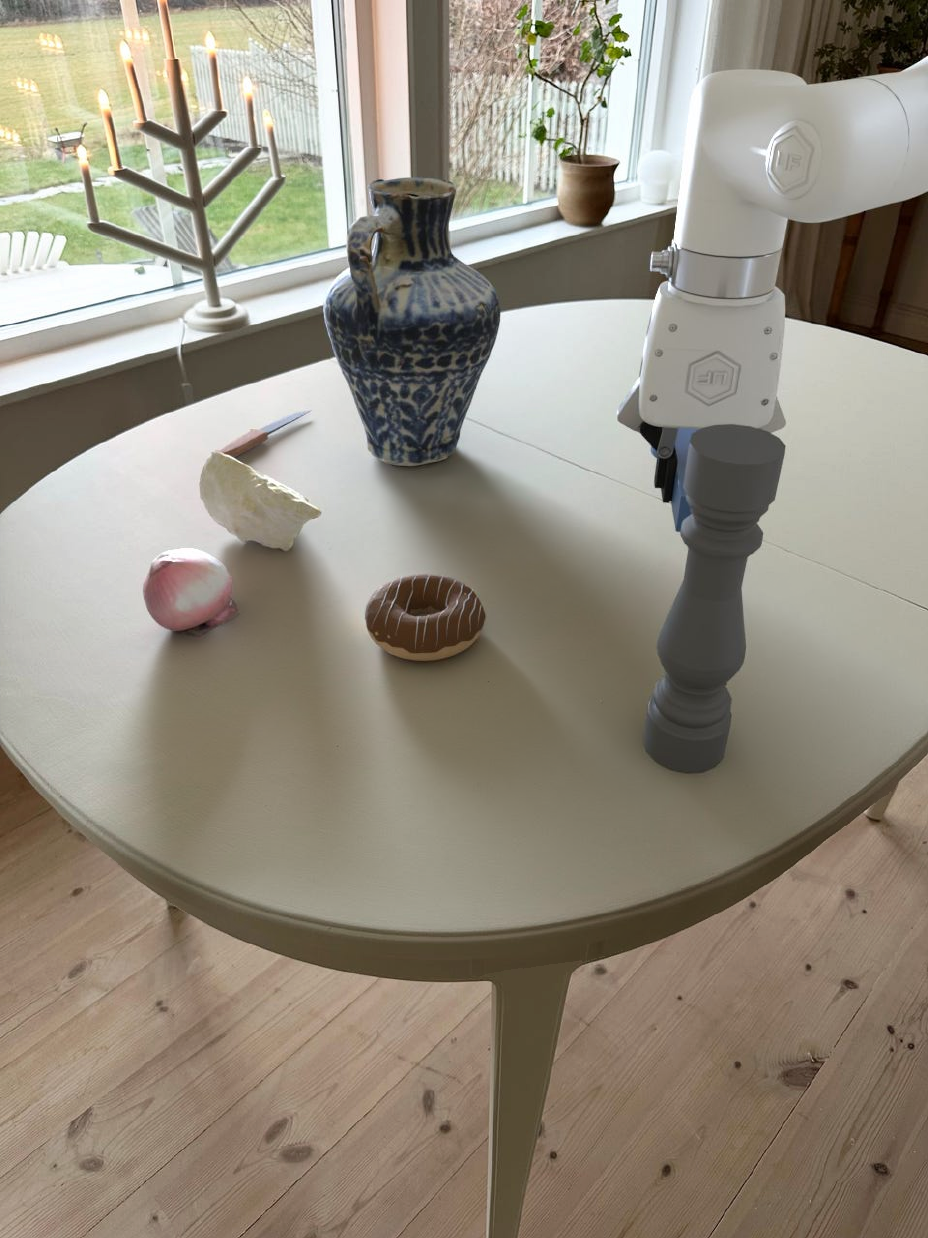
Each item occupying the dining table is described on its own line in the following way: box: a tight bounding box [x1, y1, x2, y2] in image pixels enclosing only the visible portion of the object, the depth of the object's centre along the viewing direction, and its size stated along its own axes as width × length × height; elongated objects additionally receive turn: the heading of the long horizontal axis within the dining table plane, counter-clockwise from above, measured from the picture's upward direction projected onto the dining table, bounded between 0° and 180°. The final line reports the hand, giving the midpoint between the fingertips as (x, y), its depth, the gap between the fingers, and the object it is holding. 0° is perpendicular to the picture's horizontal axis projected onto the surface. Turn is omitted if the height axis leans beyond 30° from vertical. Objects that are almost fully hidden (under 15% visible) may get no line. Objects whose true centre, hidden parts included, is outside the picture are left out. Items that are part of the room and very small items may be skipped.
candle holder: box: [642, 424, 787, 774], centre depth 63 cm, size 6×6×25 cm
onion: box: [142, 547, 241, 637], centre depth 82 cm, size 8×8×7 cm
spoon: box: [650, 428, 699, 533], centre depth 78 cm, size 17×5×3 cm, turn 174°
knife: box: [211, 410, 313, 458], centre depth 115 cm, size 17×1×3 cm
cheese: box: [198, 450, 322, 552], centre depth 94 cm, size 15×7×15 cm
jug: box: [323, 176, 501, 467], centre depth 103 cm, size 21×19×30 cm
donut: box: [364, 573, 487, 662], centre depth 81 cm, size 11×11×4 cm
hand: (688, 494), depth 77 cm, fingers closed on spoon, 3 cm apart
